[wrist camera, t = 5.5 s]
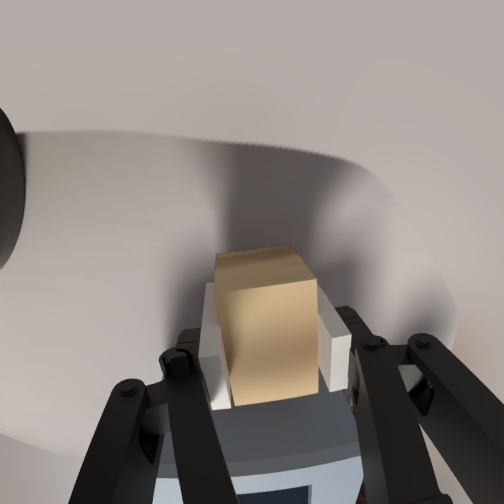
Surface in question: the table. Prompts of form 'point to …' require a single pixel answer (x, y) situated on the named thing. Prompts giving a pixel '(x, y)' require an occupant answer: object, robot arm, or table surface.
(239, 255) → the wooden block
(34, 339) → the table surface
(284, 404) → the coin box
